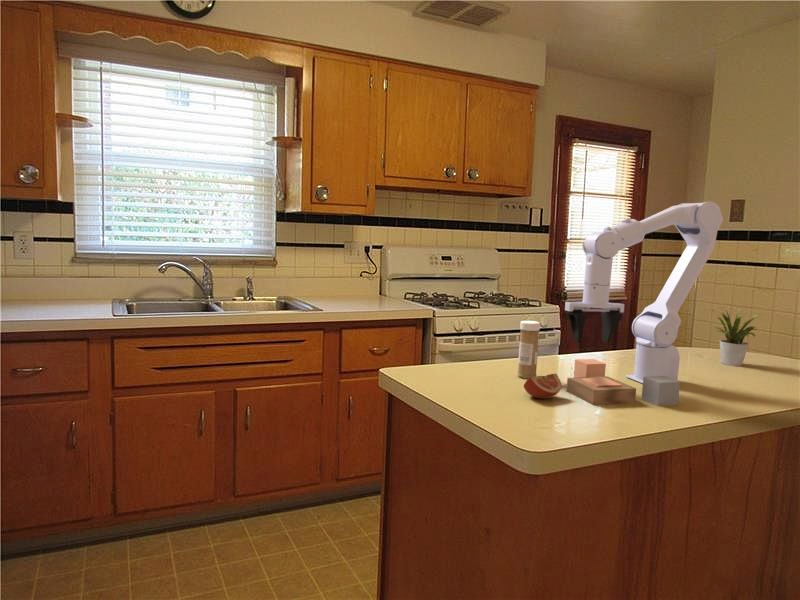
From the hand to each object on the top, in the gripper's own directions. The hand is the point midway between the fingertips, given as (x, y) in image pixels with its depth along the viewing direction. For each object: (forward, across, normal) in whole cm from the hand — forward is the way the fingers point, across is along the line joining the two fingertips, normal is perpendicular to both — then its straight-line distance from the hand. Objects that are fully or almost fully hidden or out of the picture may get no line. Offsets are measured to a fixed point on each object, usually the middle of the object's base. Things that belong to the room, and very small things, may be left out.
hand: (591, 342), depth 137 cm
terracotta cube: (+10, 0, 0) cm, 10 cm away
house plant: (+9, -53, -13) cm, 56 cm away
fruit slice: (+10, +18, +11) cm, 23 cm away
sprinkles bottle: (+10, +13, -6) cm, 17 cm away
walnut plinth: (+10, +5, +12) cm, 16 cm away
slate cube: (+10, -6, +17) cm, 20 cm away
